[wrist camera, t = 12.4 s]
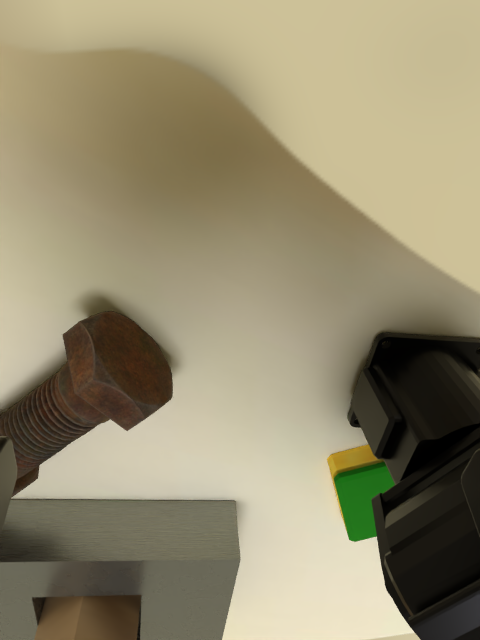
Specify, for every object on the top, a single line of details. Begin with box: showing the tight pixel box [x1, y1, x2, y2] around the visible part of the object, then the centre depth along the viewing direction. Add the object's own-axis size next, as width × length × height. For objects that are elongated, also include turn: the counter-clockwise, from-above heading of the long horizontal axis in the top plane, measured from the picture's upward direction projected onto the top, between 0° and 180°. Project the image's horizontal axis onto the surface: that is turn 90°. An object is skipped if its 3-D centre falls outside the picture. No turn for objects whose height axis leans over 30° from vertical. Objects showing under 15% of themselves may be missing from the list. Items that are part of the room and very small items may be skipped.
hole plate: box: [0, 499, 240, 640], centre depth 30 cm, size 18×14×4 cm
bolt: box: [0, 311, 173, 497], centre depth 22 cm, size 6×5×15 cm
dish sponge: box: [327, 444, 395, 542], centre depth 29 cm, size 7×14×2 cm, turn 106°
